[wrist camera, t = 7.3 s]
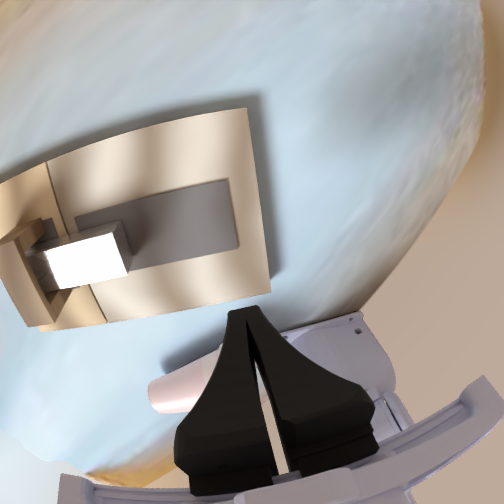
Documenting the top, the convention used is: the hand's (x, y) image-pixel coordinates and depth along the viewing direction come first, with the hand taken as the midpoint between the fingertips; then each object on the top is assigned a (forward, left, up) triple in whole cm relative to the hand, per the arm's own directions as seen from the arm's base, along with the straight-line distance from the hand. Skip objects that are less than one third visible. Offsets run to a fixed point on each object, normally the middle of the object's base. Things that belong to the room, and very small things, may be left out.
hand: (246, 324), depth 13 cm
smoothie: (+10, +15, -7) cm, 19 cm away
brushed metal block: (+11, -2, -8) cm, 14 cm away
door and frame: (+8, -2, -10) cm, 13 cm away
